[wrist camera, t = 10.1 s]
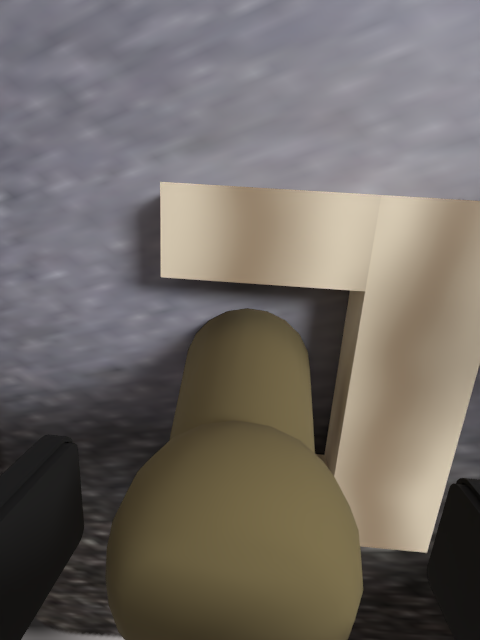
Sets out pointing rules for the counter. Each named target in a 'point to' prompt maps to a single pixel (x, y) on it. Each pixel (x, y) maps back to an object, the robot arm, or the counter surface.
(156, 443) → the counter surface
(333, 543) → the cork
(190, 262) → the wooden u-shaped block
